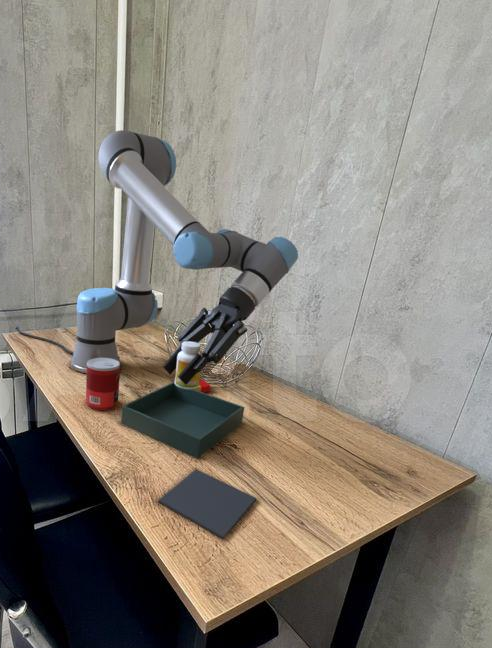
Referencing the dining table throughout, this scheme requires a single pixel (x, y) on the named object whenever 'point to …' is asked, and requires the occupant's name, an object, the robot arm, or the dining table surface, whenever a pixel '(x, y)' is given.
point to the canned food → (102, 383)
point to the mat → (208, 502)
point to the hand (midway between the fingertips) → (174, 375)
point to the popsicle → (203, 386)
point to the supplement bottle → (183, 360)
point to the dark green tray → (183, 418)
